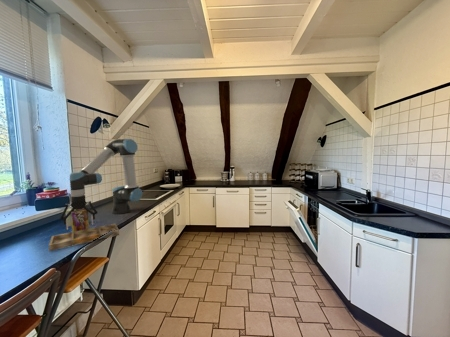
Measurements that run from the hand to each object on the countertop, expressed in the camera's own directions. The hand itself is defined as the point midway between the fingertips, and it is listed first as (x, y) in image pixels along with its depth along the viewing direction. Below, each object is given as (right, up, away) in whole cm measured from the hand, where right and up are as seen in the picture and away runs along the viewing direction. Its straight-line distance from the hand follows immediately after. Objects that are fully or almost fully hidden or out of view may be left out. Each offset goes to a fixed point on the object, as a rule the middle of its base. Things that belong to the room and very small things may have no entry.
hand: (80, 226), depth 133 cm
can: (-16, -3, +16) cm, 23 cm away
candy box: (0, -4, 0) cm, 4 cm away
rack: (+11, -4, -10) cm, 15 cm away
